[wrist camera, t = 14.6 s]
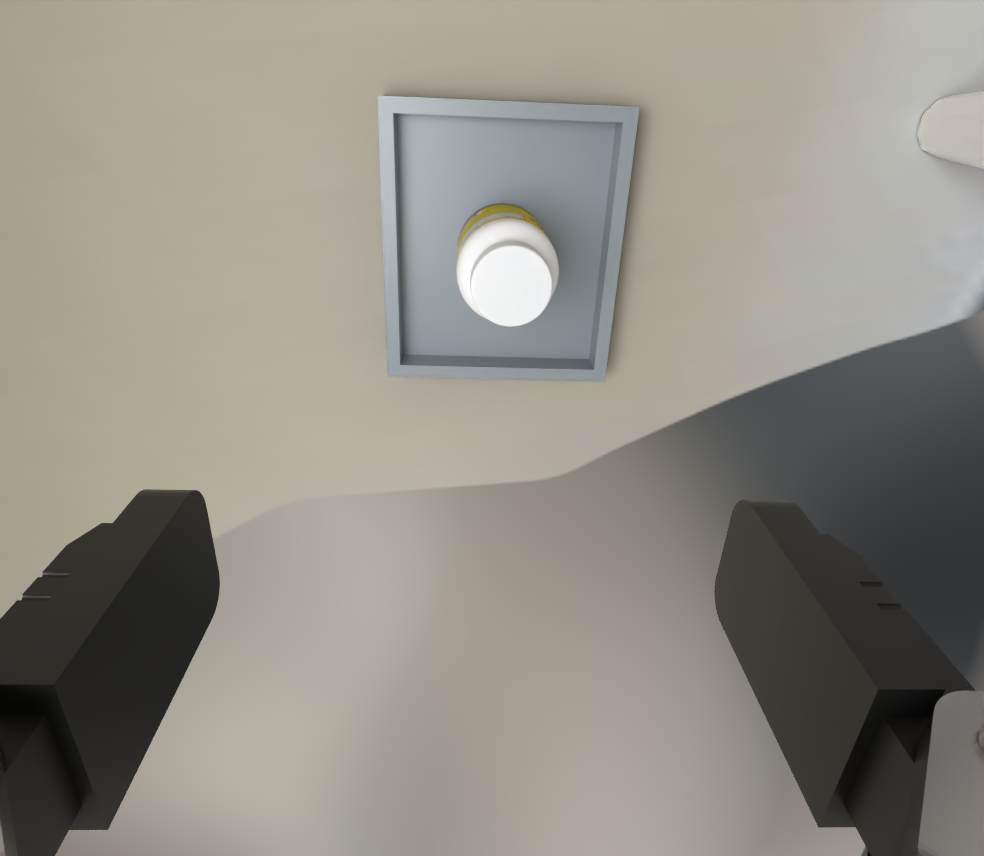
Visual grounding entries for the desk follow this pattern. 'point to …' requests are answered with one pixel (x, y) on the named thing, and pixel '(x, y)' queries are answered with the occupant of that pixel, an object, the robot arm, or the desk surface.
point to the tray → (514, 180)
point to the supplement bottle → (506, 265)
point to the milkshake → (955, 129)
